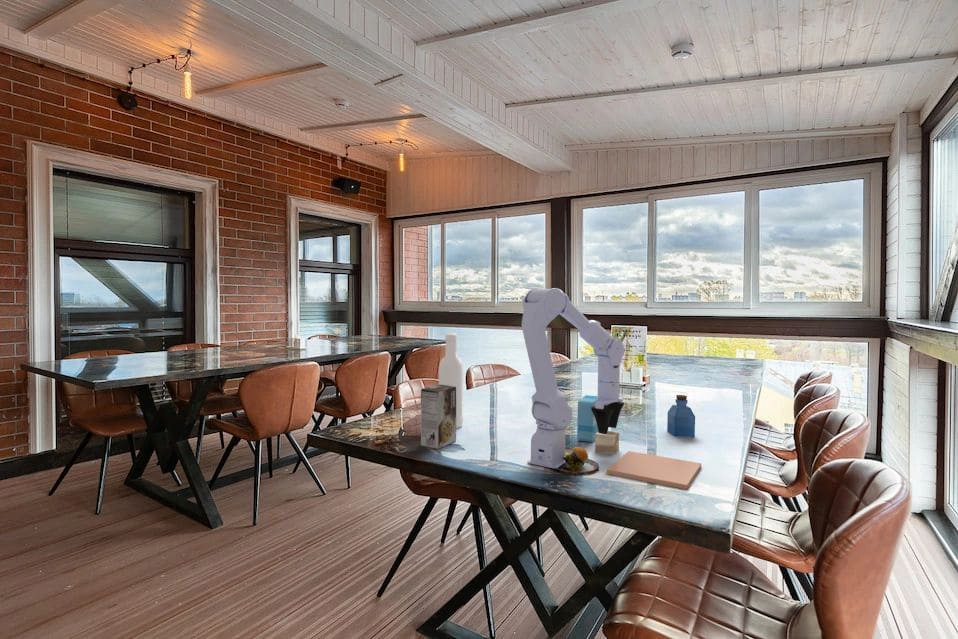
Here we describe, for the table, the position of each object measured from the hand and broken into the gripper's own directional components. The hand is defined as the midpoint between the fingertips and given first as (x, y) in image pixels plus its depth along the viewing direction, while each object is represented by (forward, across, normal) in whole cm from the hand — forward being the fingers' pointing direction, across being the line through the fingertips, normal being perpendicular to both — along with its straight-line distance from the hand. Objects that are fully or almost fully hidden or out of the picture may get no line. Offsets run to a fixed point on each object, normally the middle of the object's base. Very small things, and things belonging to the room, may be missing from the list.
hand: (607, 430), depth 138 cm
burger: (+7, -18, +2) cm, 19 cm away
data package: (+6, +10, +9) cm, 15 cm away
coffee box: (+6, -21, +42) cm, 47 cm away
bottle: (+6, -3, +51) cm, 52 cm away
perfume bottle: (+6, +31, -13) cm, 34 cm away
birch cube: (+6, 0, 0) cm, 6 cm away
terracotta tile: (+6, -9, -15) cm, 18 cm away
